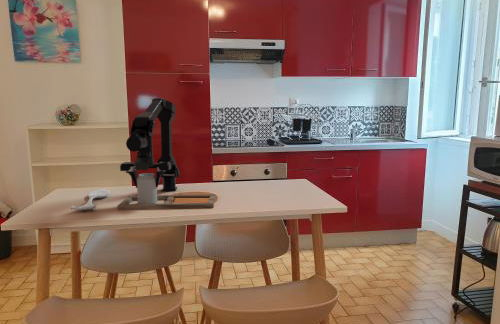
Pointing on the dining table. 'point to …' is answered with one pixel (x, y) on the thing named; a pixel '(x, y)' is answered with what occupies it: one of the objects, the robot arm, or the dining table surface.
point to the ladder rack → (168, 202)
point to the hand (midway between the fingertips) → (147, 187)
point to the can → (146, 188)
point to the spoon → (92, 195)
